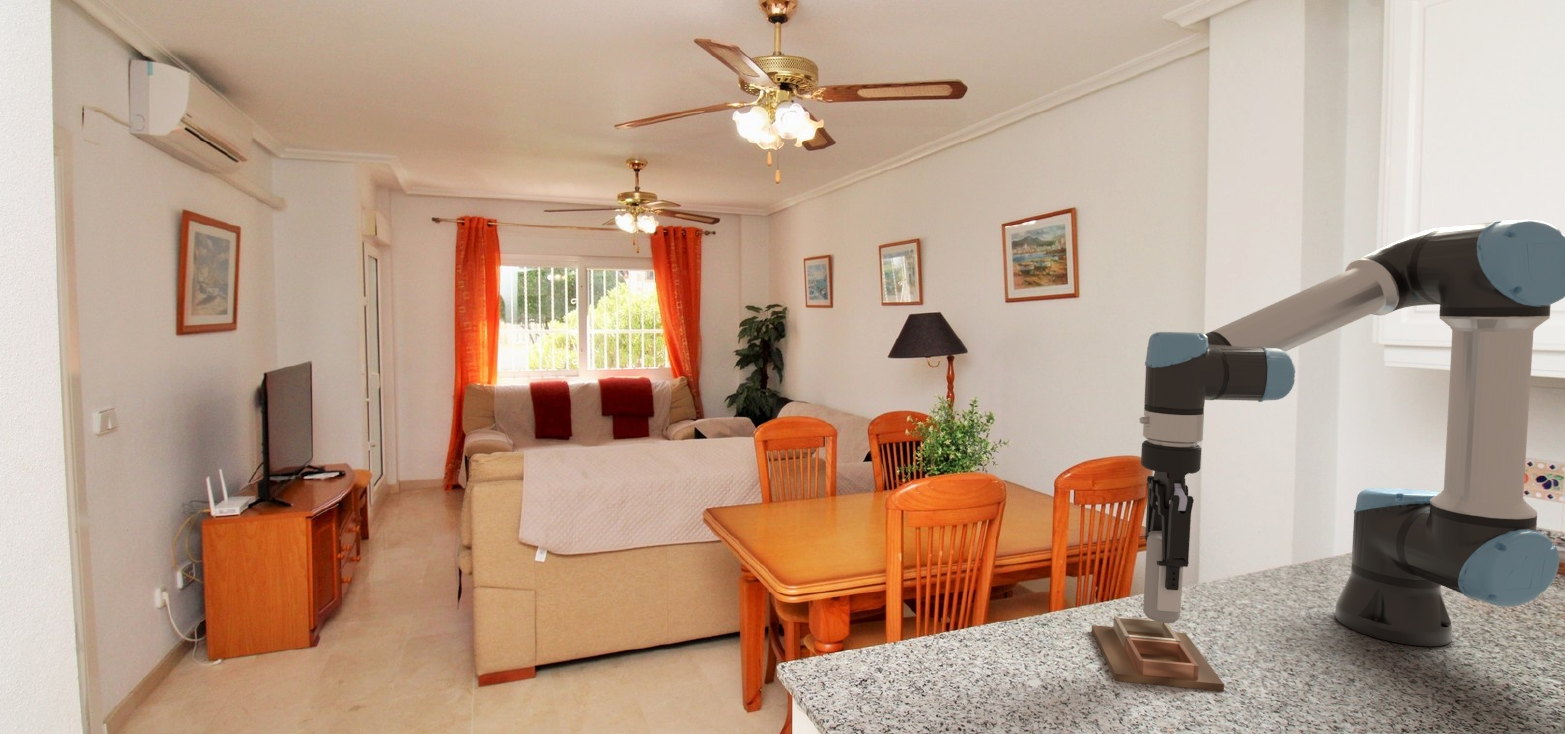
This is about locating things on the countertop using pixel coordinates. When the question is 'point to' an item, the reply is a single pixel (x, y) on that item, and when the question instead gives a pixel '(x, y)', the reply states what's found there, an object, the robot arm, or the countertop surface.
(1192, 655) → the socket board
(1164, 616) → the beverage can
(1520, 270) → the robot arm
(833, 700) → the countertop surface
